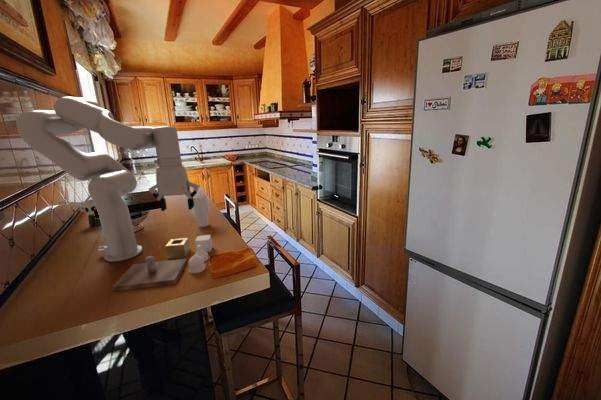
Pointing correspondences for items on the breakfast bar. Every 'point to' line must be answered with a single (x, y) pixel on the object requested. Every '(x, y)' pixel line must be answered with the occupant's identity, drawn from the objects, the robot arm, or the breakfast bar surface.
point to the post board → (151, 274)
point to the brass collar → (177, 248)
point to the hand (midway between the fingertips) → (177, 209)
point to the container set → (200, 254)
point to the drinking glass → (201, 210)
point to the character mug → (90, 212)
